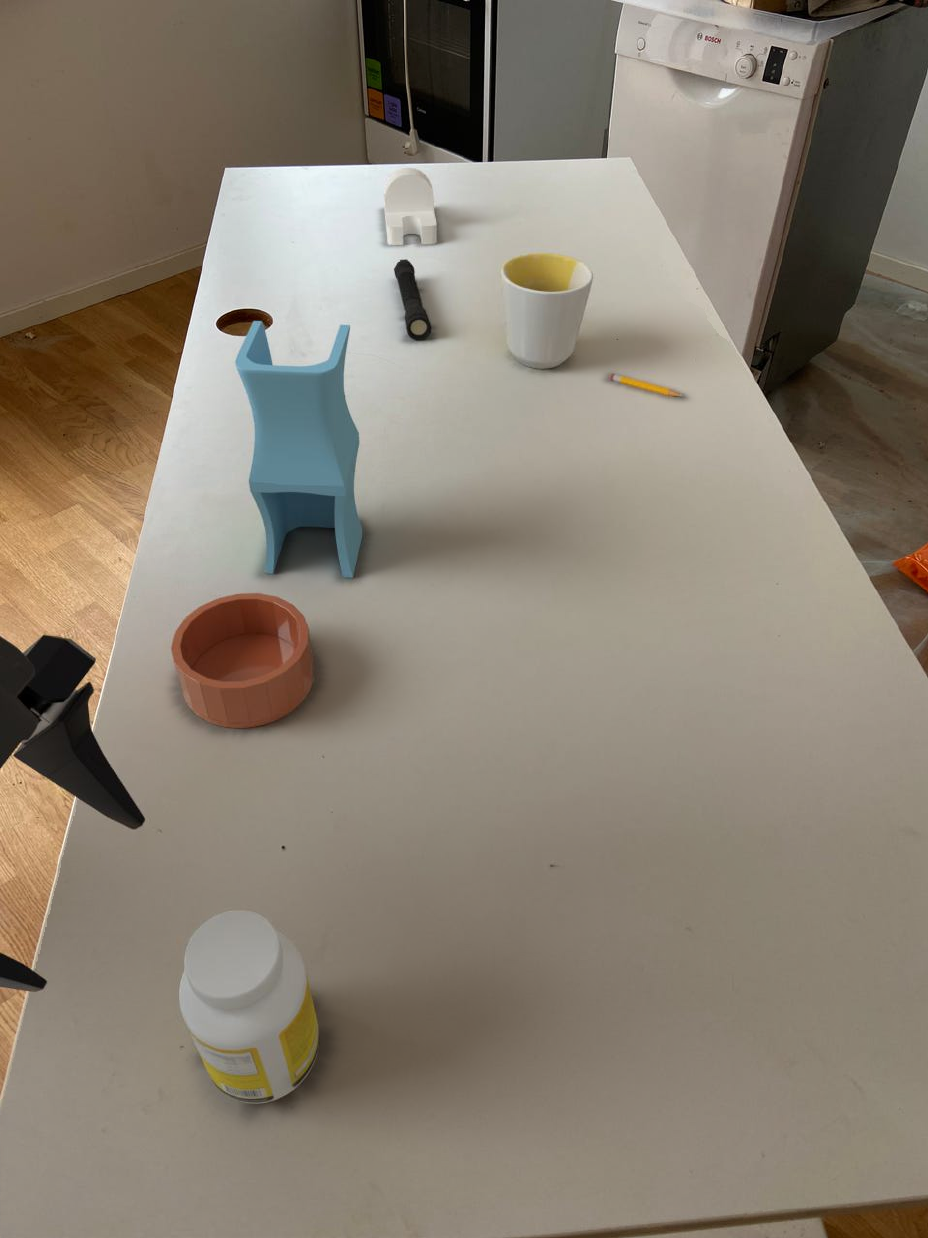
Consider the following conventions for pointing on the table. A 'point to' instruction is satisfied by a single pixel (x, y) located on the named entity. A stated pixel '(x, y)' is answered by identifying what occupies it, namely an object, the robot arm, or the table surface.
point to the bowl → (244, 659)
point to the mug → (544, 306)
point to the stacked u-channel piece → (302, 446)
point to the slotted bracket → (409, 207)
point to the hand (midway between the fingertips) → (94, 900)
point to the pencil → (644, 385)
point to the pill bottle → (249, 1007)
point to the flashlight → (412, 302)
